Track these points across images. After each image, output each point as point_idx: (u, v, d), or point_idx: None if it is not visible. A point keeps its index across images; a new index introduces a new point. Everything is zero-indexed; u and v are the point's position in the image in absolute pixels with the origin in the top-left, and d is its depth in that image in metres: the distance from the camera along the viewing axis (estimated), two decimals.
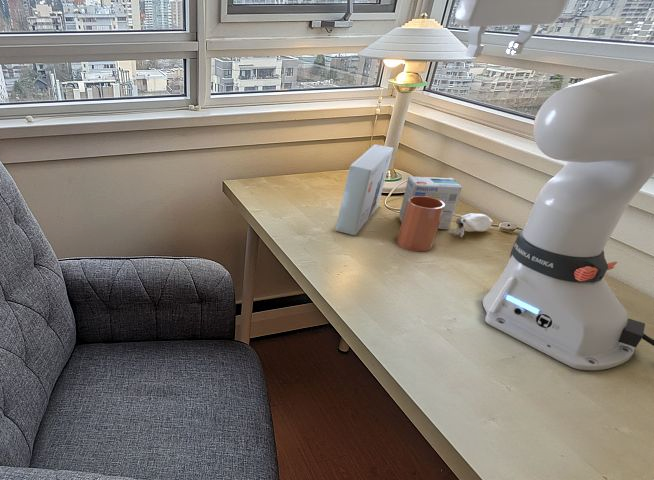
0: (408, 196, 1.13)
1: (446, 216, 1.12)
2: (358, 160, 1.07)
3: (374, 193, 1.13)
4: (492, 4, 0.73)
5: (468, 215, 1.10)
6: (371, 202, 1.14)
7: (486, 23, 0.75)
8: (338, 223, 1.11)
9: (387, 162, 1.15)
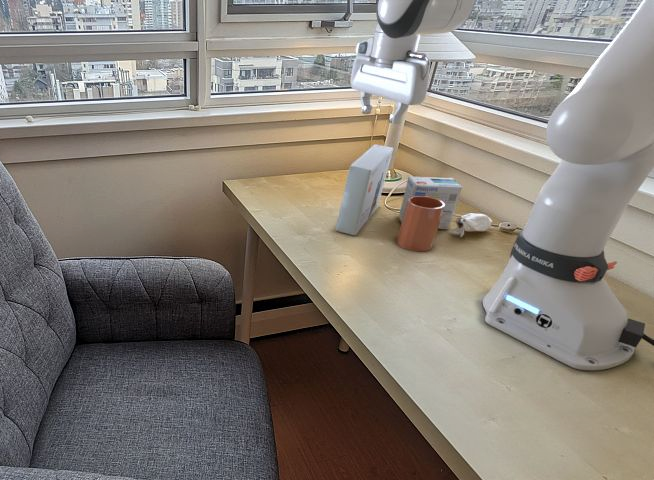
0: (408, 196, 1.13)
1: (446, 216, 1.12)
2: (358, 160, 1.07)
3: (374, 193, 1.13)
4: None
5: (468, 215, 1.10)
6: (371, 202, 1.14)
7: None
8: (338, 223, 1.11)
9: (387, 162, 1.15)
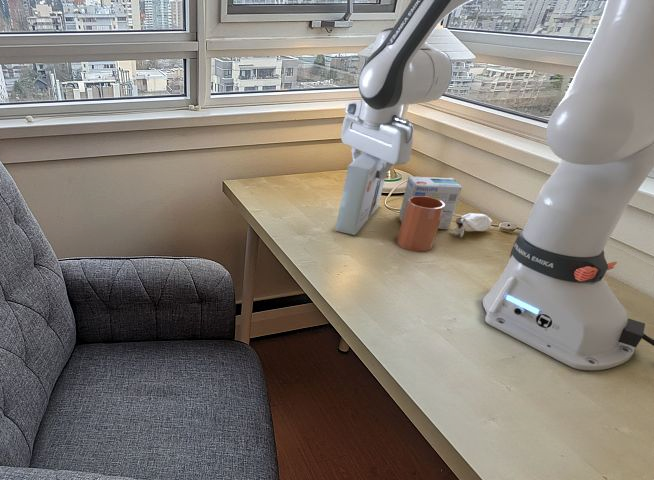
0: (408, 196, 1.13)
1: (446, 216, 1.12)
2: (356, 160, 1.07)
3: (373, 193, 1.13)
4: None
5: (468, 215, 1.10)
6: (371, 202, 1.14)
7: None
8: (338, 223, 1.12)
9: None
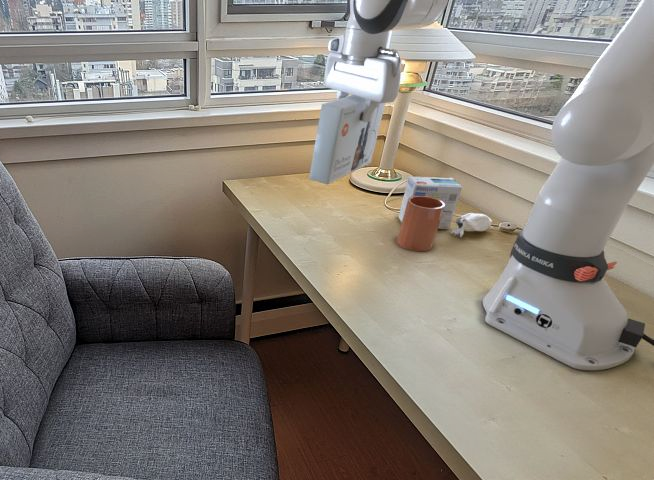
0: (408, 196, 1.13)
1: (446, 216, 1.12)
2: (335, 100, 0.98)
3: (356, 141, 1.03)
4: None
5: (468, 215, 1.10)
6: (352, 151, 1.04)
7: None
8: (311, 171, 1.03)
9: (377, 109, 1.04)
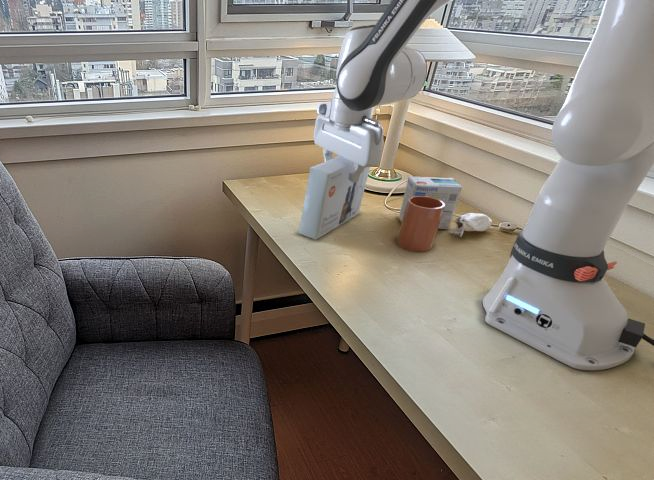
0: (408, 196, 1.13)
1: (446, 216, 1.12)
2: (323, 163, 1.05)
3: (343, 198, 1.10)
4: None
5: (467, 215, 1.10)
6: (340, 207, 1.11)
7: None
8: (301, 226, 1.10)
9: None
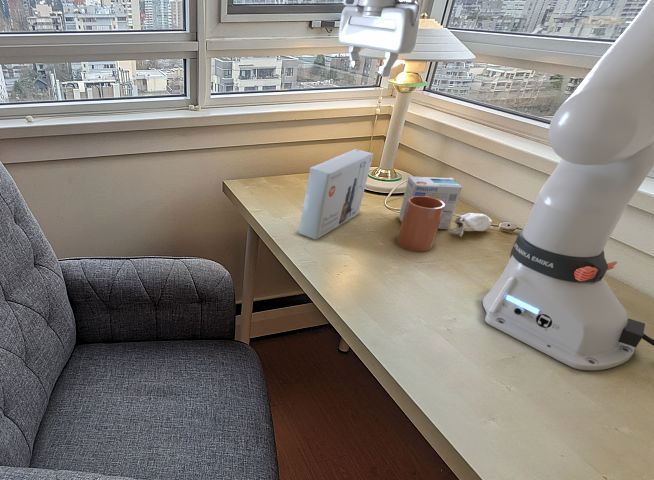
0: (408, 196, 1.13)
1: (446, 216, 1.12)
2: (323, 163, 1.05)
3: (343, 198, 1.10)
4: None
5: (467, 215, 1.10)
6: (340, 207, 1.11)
7: None
8: (301, 226, 1.10)
9: (363, 168, 1.11)
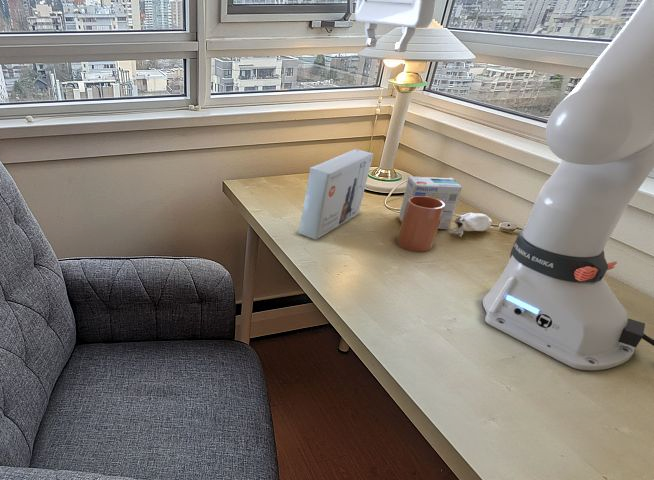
0: (408, 196, 1.13)
1: (446, 216, 1.12)
2: (323, 163, 1.05)
3: (343, 198, 1.10)
4: None
5: (467, 215, 1.10)
6: (340, 207, 1.11)
7: None
8: (301, 226, 1.10)
9: (363, 168, 1.11)
